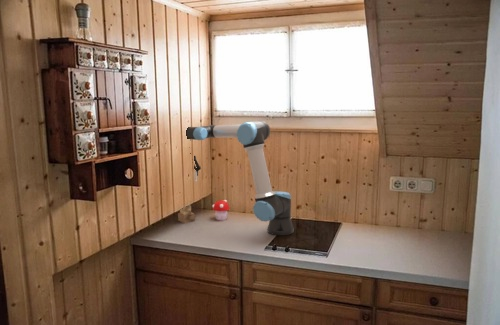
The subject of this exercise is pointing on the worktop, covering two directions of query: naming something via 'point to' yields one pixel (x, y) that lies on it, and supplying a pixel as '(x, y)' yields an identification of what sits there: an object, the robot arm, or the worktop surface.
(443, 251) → the worktop surface
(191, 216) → the tower base
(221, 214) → the mushroom
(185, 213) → the tower top
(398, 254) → the worktop surface
